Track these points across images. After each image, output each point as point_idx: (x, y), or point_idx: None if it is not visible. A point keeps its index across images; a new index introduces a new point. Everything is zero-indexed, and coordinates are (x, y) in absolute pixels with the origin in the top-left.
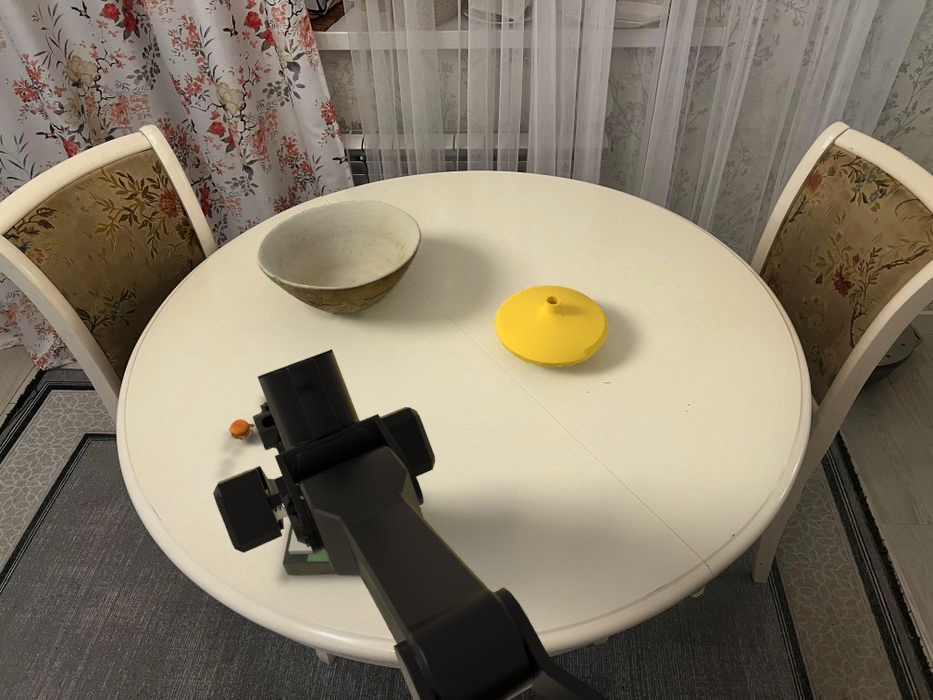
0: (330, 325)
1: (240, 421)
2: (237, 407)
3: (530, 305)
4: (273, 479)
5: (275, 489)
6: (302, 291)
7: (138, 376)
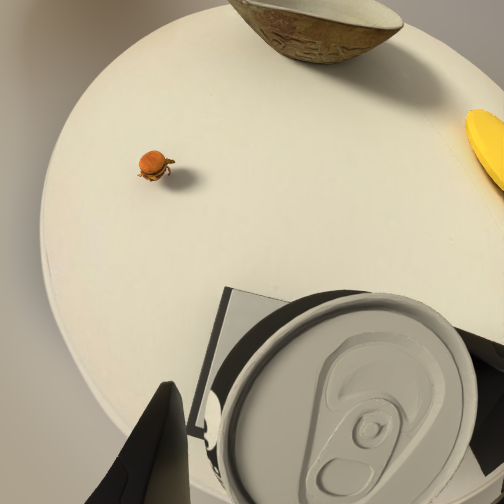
0: (287, 68)
1: (154, 154)
2: (161, 134)
3: (498, 128)
4: (162, 434)
5: (169, 477)
6: (273, 14)
7: (86, 96)
